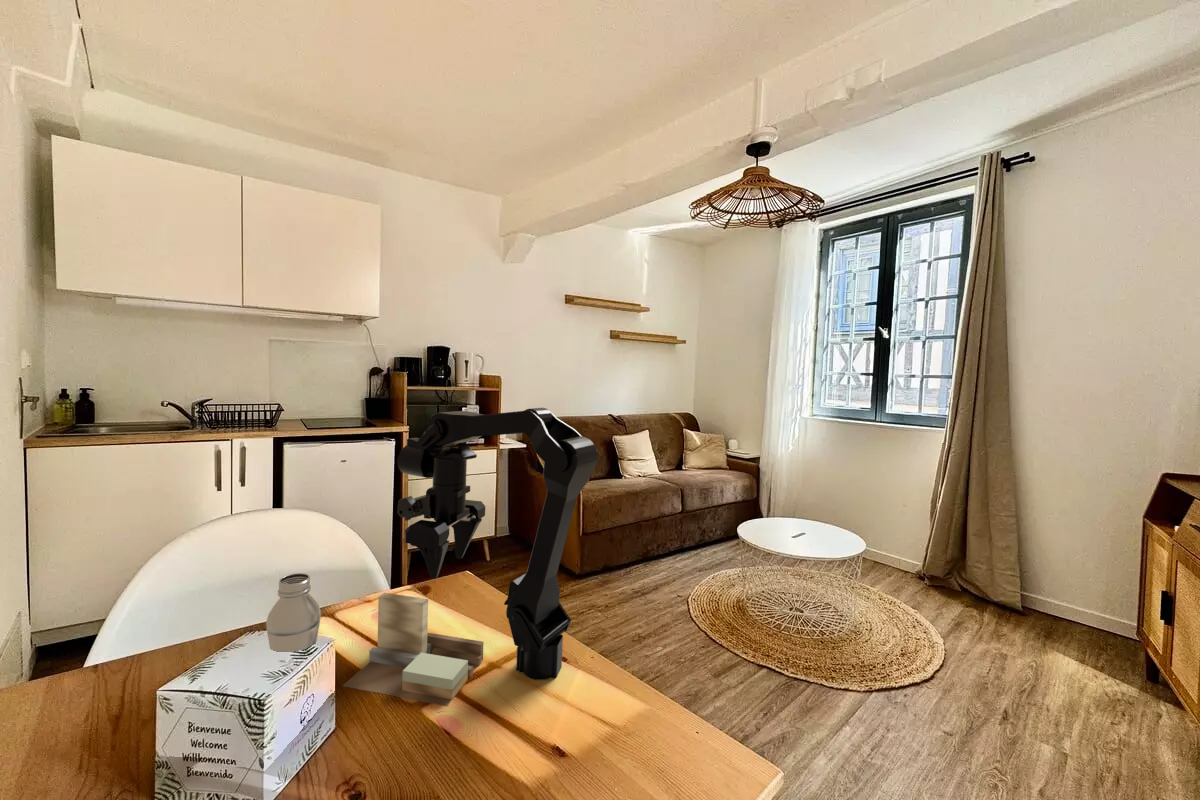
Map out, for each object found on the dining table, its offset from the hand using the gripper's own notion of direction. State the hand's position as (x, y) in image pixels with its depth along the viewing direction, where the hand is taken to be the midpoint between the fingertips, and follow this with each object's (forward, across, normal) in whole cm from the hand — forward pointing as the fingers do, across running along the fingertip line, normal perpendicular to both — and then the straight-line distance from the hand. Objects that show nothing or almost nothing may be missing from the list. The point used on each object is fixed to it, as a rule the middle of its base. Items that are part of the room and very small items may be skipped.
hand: (447, 567), depth 91 cm
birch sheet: (+12, +9, -3) cm, 15 cm away
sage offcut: (+10, +14, +6) cm, 19 cm away
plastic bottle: (+13, +25, -9) cm, 30 cm away
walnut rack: (+13, +12, +2) cm, 18 cm away
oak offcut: (+12, +14, +6) cm, 19 cm away
